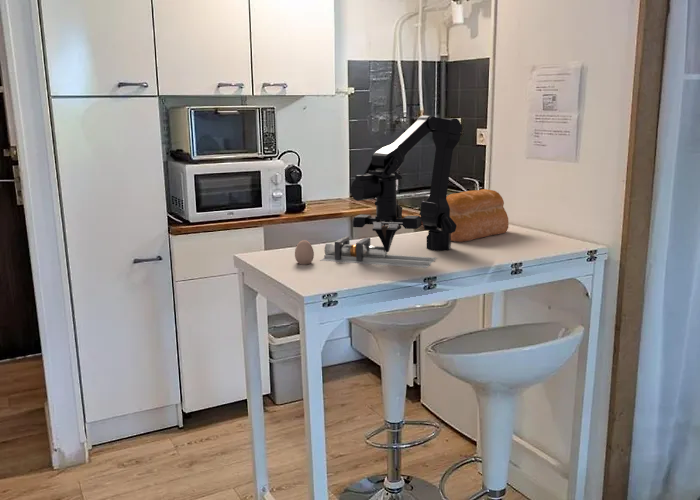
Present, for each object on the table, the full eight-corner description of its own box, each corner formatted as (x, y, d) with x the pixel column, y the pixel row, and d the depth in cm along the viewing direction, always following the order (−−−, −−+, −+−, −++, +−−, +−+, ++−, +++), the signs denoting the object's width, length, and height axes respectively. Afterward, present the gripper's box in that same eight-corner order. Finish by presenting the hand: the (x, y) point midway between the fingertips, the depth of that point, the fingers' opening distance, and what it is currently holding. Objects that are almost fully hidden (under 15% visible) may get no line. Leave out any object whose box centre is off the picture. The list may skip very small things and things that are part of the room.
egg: (300, 269, 182) (299, 243, 180) (292, 265, 186) (290, 239, 185) (317, 266, 185) (316, 240, 183) (308, 262, 189) (307, 237, 187)
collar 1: (349, 253, 195) (349, 236, 194) (339, 260, 188) (339, 242, 187) (345, 253, 196) (344, 236, 194) (334, 259, 188) (334, 241, 187)
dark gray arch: (370, 255, 193) (370, 237, 192) (361, 261, 186) (361, 243, 184) (365, 254, 193) (365, 237, 192) (356, 261, 186) (356, 243, 185)
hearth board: (436, 260, 188) (436, 255, 188) (426, 270, 177) (426, 264, 177) (335, 253, 199) (335, 248, 199) (320, 263, 188) (320, 257, 188)
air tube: (386, 260, 189) (387, 247, 189) (383, 258, 185) (384, 245, 186) (328, 256, 195) (329, 244, 196) (323, 254, 192) (325, 242, 192)
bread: (430, 238, 220) (430, 192, 216) (482, 227, 235) (483, 185, 232) (460, 244, 209) (461, 196, 206) (513, 233, 225) (514, 188, 222)
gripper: (426, 193, 187) (426, 247, 191) (363, 192, 194) (365, 244, 197) (416, 198, 177) (416, 255, 180) (350, 197, 184) (352, 252, 187)
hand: (387, 251), depth 186 cm, fingers closed
